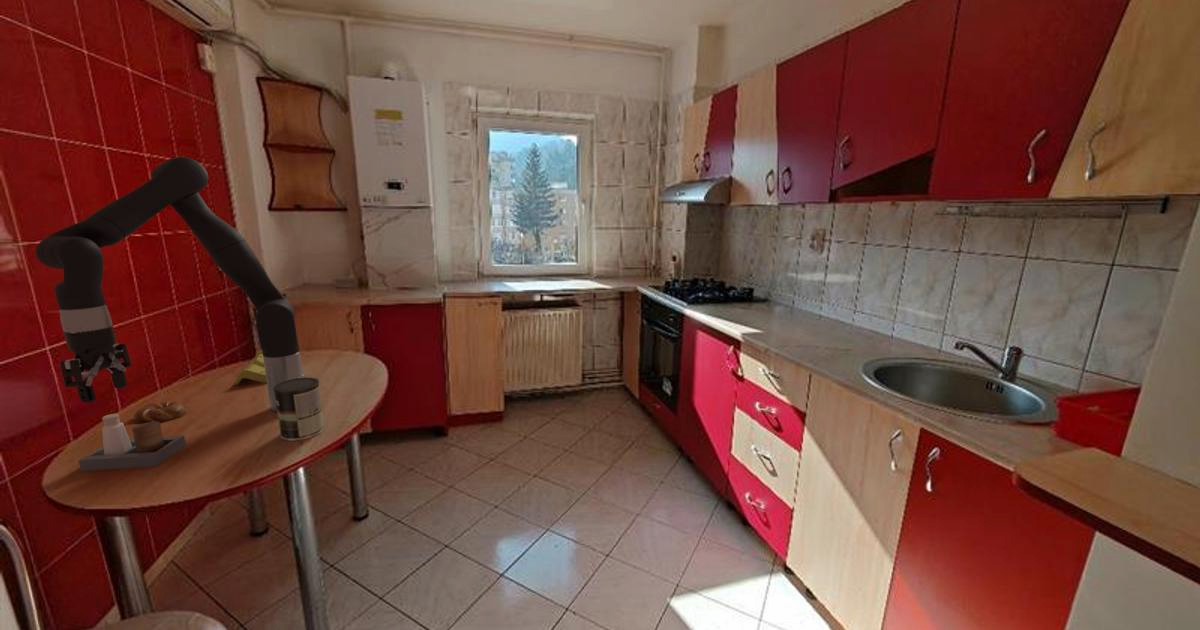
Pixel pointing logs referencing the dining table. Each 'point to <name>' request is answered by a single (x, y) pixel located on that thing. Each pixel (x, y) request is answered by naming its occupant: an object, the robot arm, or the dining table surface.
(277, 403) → the coffee can
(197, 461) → the dining table surface
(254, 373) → the plastic component
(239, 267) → the robot arm
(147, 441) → the fitted dowel
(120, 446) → the salt shaker
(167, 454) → the grey rectangular open block
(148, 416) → the bread roll
